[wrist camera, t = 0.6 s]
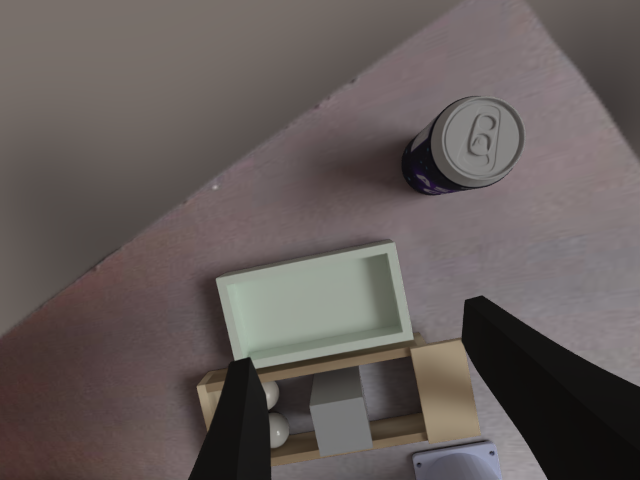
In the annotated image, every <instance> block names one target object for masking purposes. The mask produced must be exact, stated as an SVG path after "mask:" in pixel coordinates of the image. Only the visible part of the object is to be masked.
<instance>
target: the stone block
mask: <svg viewBox="0 0 640 480" xmlns="http://www.w3.org/2000/svg"><path fill="white" fill-rule="evenodd" d="M310 411H311V416H312V420H313V425H314V429H315V434H316V438H317V443H318V447H319V452H320V456H321V457H323V456H329V455H335V454H341V453H347V452H353V451H359V450H365V449H371V448H373V442H372V436H371V429H370V423H369V416H368V410H367V404H366V400H365V395H364V390H363V385H362V380H361V376H360V371H359V366H353V367H347V368H342V369H336V370H331V371H325V372H320V373H314V378H313V385H312V392H311V399H310Z"/></svg>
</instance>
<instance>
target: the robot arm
mask: <svg viewBox="0 0 640 480" xmlns="http://www.w3.org/2000/svg"><path fill="white" fill-rule="evenodd" d="M461 342H462V344H463V346H464V348H465V350H466V351H467V353H468V355H469V357H470V359H471V361H472V363H473V365H474V366H475V368H476V370H477V371H478V373H479V374H480V376H481V377H482V379H483V380H484V382H485V383H486V385H487V386H488V387H489V389H490V390H491V392H492V393H493V395H494V396H495V398H496V399H497V400H498V402H499V403H500V405H501V406H502V408H503V409H504V410H505V412H506V413H507V415H508V416H509V418H510V419H511V420H512V422H513V423H514V425H515V426H516V428H517V429H518V431H519V432H520V433H521V435H522V437H523V438H524V440H525V441H526V443H527V444H528V446H529V448H530V449H531V451H532V453H533V454H534V456H535V458H536V460H537V461H538V463H539V465H540V467H541V468H542V470H543V472H544V474H545V475H546V477H547V479H548V480H640V387H639V386H637V385H635V384H632V383H630V382H628V381H626V380H624V379H622V378H620V377H618V376H616V375H614V374H612V373H610V372H608V371H606V370H604V369H602V368H600V367H598V366H596V365H594V364H592V363H591V362H589V361H587V360H585V359H583V358H582V357H580V356H578V355H576V354H574V353H573V352H571V351H569V350H567V349H566V348H564V347H562V346H560V345H559V344H557V343H555V342H554V341H552V340H550V339H549V338H547V337H546V336H544V335H542V334H541V333H539V332H538V331H536V330H534V329H533V328H531V327H530V326H528V325H526V324H525V323H523V322H522V321H520V320H519V319H517V318H516V317H514V316H513V315H511V314H510V313H508V312H507V311H505V310H504V309H502V308H501V307H499V306H498V305H496V304H495V303H493V302H491V301H490V300H488V299H487V298H485V297H484V296H478V297H474V298H471V299H467V300H465V304H464V315H463V327H462V339H461ZM490 451H493V452H492V453H489V452H490ZM412 460H413V465H414V470H415V475H416V480H502V476H501V470H500V465H499V460H498V454H497V449H496V445H495V444H494V443H493V442H492V441H486V442H480V443H474V444H468V445H462V446H456V447H450V448H444V449H438V450H432V451H426V452H420V453H415V454H414V455H413V456H412ZM417 463H421V464H420V465H417ZM188 480H271V441H270V422H269V413H268V406H267V398H266V393H265V391H264V388H263V386H262V384H261V381H260V379H259V376H258V374H257V372H256V369H255V367H254V364H253V362H252V360H251V357H247V358H243V359H240V360H236V361H232V362H231V363H230V364H229V366H228V370H227V374H226V378H225V382H224V385H223V388H222V392H221V395H220V398H219V401H218V404H217V407H216V410H215V413H214V416H213V419H212V421H211V424H210V427H209V430H208V433H207V435H206V438H205V440H204V443H203V445H202V448H201V450H200V453H199V455H198V458H197V460H196V462H195V465H194V467H193V470H192V472H191V474H190V476H189V479H188Z"/></svg>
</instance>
